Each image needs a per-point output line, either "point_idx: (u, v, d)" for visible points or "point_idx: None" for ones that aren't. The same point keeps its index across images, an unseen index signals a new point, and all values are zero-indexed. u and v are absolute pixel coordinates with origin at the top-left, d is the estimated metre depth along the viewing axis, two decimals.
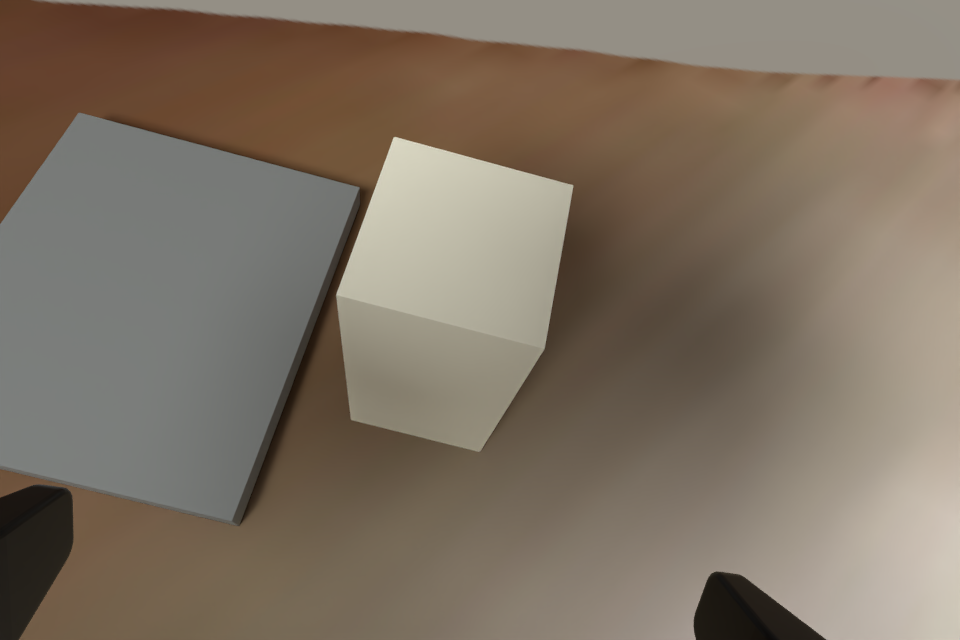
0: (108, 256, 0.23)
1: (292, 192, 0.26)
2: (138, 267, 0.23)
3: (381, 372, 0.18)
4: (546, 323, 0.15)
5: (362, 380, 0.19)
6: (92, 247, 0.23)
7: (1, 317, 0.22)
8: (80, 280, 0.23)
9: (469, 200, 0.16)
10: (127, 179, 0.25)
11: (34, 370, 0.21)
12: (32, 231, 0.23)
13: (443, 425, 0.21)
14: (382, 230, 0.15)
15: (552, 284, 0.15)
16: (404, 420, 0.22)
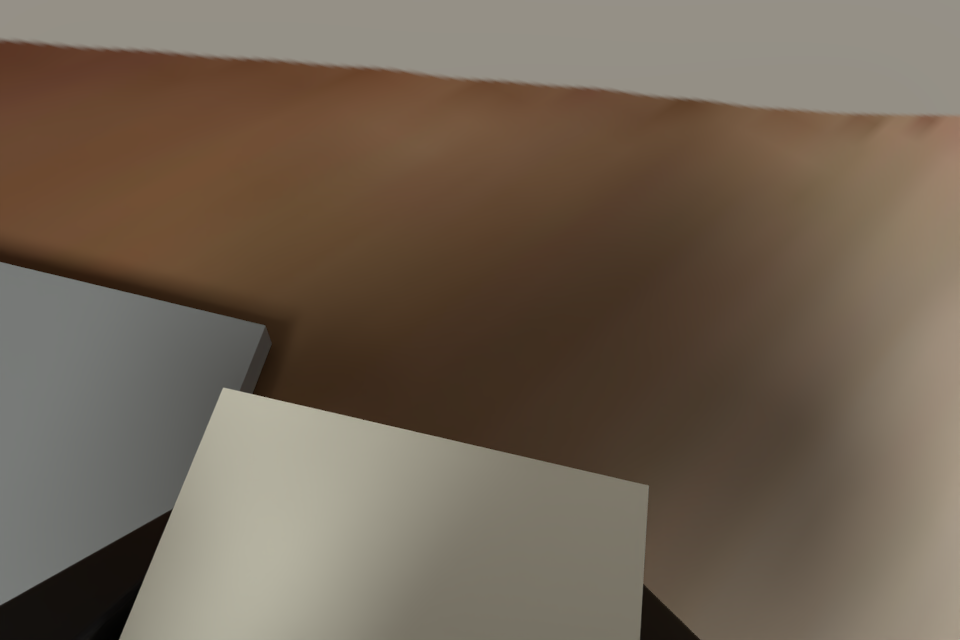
0: None
1: (154, 339, 0.16)
2: None
3: None
4: None
5: None
6: None
7: None
8: None
9: (402, 562, 0.06)
10: None
11: None
12: None
13: None
14: None
15: None
16: None
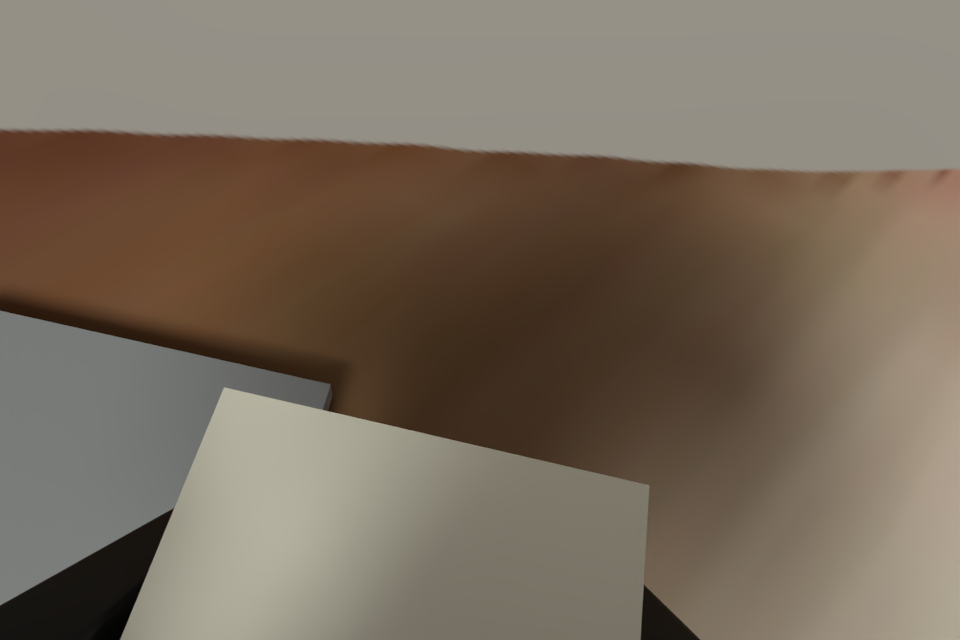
0: None
1: None
2: (27, 538, 0.17)
3: None
4: None
5: None
6: None
7: None
8: None
9: (403, 562, 0.06)
10: (17, 398, 0.18)
11: None
12: None
13: None
14: None
15: None
16: None
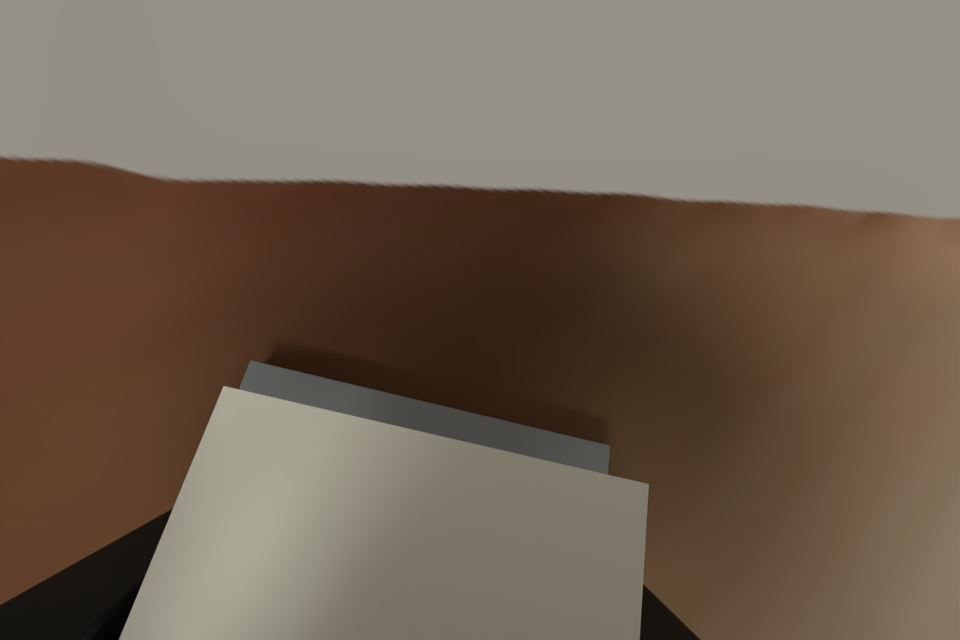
0: None
1: None
2: None
3: None
4: None
5: None
6: None
7: None
8: None
9: (402, 560, 0.06)
10: None
11: None
12: None
13: None
14: None
15: None
16: None
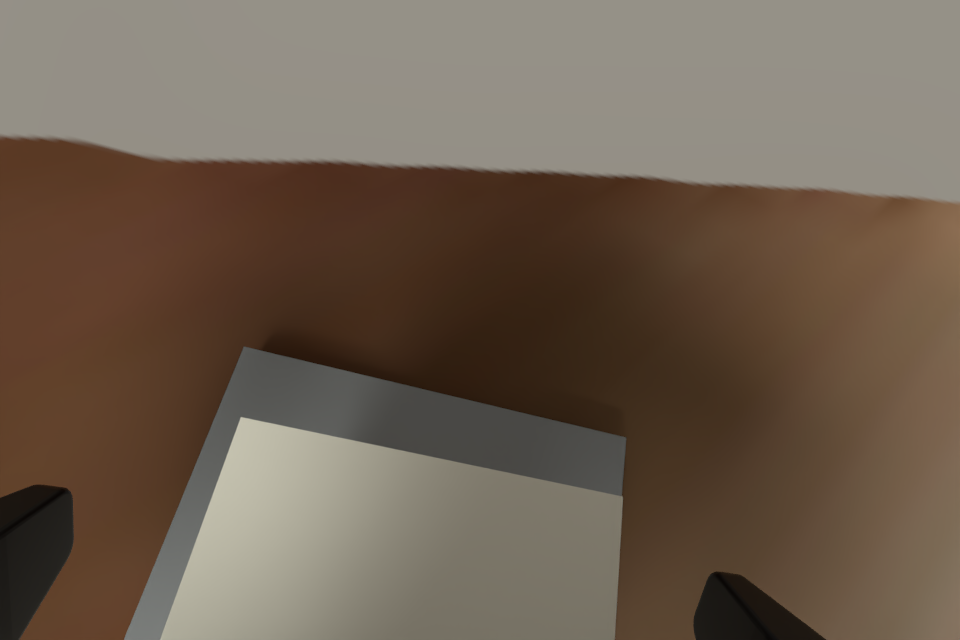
0: None
1: (543, 453, 0.19)
2: None
3: None
4: None
5: None
6: None
7: None
8: None
9: (405, 570, 0.07)
10: None
11: None
12: None
13: None
14: None
15: None
16: None
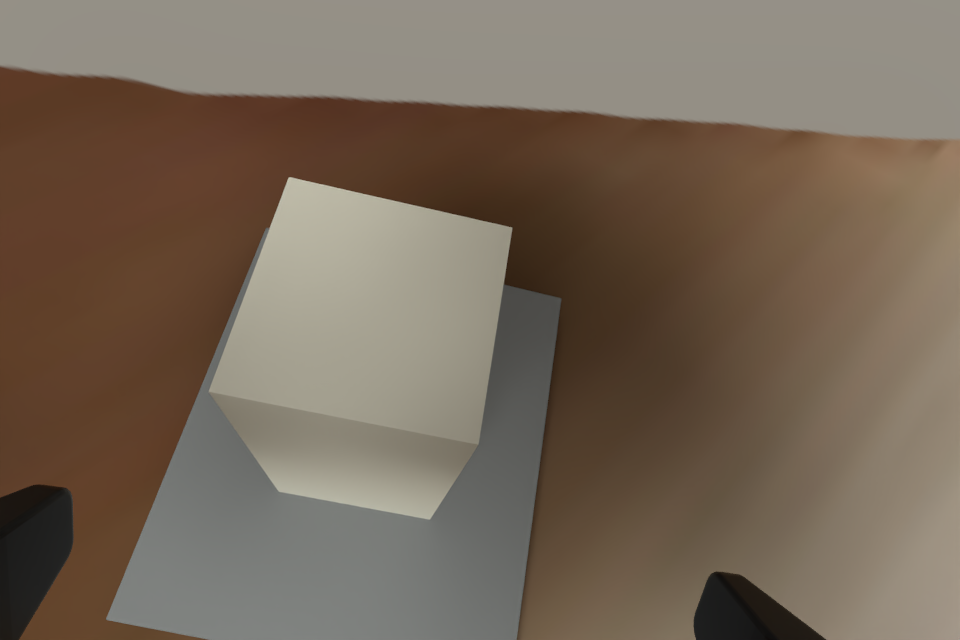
0: None
1: None
2: None
3: (294, 457, 0.15)
4: (480, 410, 0.12)
5: (275, 462, 0.16)
6: None
7: (232, 474, 0.20)
8: None
9: (384, 253, 0.13)
10: None
11: (276, 534, 0.19)
12: None
13: (382, 499, 0.18)
14: (270, 300, 0.12)
15: (487, 357, 0.12)
16: (337, 494, 0.19)
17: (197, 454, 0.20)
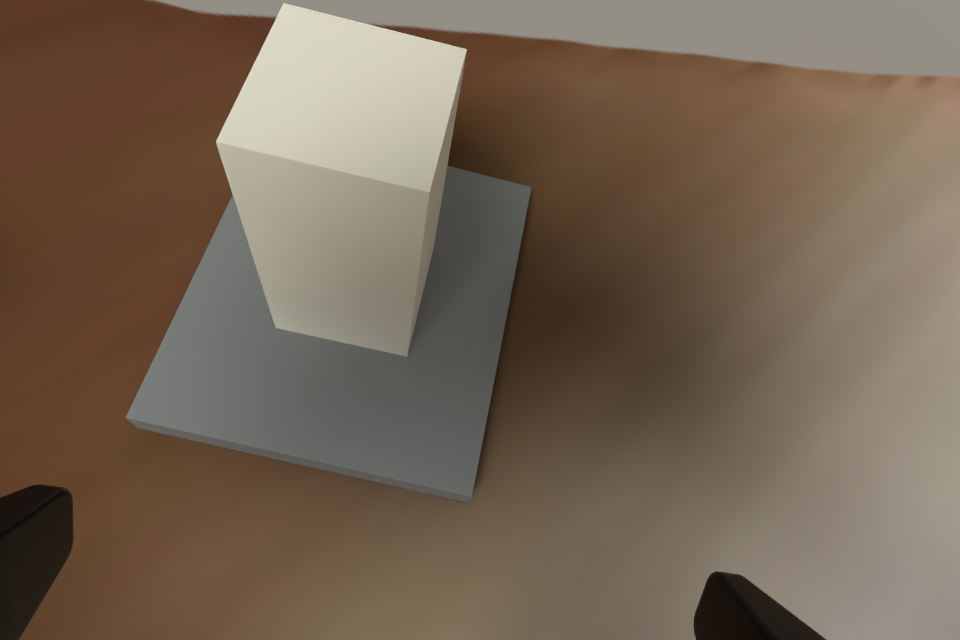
0: None
1: (472, 192, 0.27)
2: None
3: (286, 251, 0.18)
4: (432, 169, 0.15)
5: (271, 266, 0.19)
6: None
7: (235, 312, 0.23)
8: None
9: (359, 60, 0.16)
10: None
11: (273, 360, 0.22)
12: None
13: (364, 322, 0.21)
14: (266, 85, 0.15)
15: (440, 135, 0.15)
16: (325, 320, 0.22)
17: (205, 295, 0.23)
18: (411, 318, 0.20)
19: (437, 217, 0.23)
